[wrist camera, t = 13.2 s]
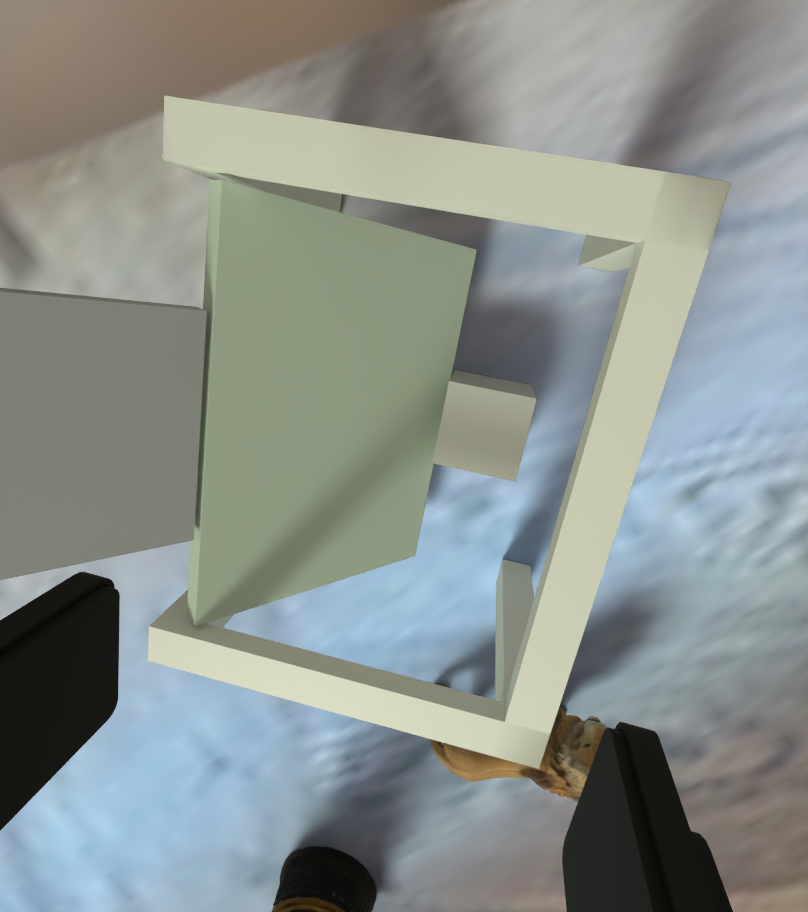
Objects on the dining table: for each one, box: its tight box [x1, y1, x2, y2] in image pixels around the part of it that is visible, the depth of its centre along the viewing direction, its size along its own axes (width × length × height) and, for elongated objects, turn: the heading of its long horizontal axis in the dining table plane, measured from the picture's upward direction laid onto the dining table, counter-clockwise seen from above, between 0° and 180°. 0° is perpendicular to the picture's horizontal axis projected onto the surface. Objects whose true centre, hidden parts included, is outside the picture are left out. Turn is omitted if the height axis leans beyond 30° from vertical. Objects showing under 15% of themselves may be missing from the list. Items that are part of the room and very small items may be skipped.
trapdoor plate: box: [0, 180, 477, 626], centre depth 24 cm, size 29×19×4 cm
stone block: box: [433, 370, 537, 481], centre depth 33 cm, size 5×5×5 cm
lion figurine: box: [430, 684, 607, 802], centre depth 37 cm, size 15×5×9 cm, turn 109°
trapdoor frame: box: [148, 96, 731, 769], centre depth 29 cm, size 19×24×16 cm
